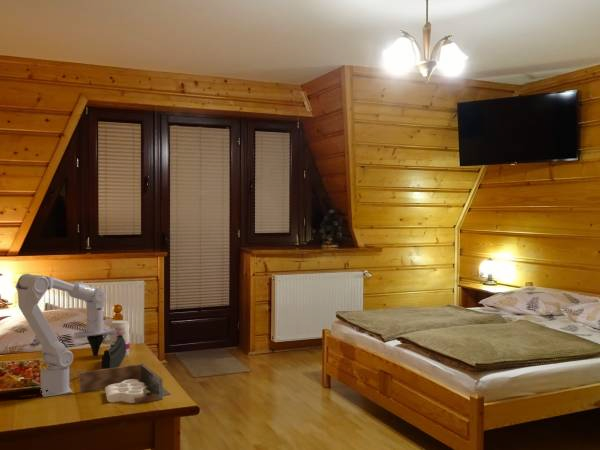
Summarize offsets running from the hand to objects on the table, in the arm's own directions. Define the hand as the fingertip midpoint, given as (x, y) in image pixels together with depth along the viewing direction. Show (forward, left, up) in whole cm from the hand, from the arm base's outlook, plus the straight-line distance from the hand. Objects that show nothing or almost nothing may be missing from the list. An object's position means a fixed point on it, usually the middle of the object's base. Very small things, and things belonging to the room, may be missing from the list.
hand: (95, 355), depth 220 cm
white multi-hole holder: (+6, -22, -11) cm, 25 cm away
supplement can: (+18, +35, -10) cm, 41 cm away
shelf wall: (+4, -21, -10) cm, 24 cm away
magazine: (+11, +16, -10) cm, 22 cm away
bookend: (+17, -21, -10) cm, 29 cm away
